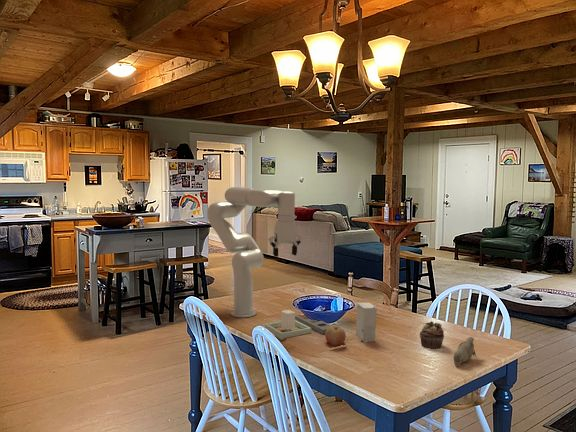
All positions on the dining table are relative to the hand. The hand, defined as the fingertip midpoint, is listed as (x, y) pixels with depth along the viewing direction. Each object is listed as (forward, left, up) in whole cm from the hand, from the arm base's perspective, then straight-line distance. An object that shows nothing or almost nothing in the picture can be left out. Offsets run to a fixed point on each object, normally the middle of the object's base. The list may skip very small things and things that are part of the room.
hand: (285, 255), depth 219 cm
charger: (+11, -4, -32) cm, 34 cm away
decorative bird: (+71, +37, -33) cm, 87 cm away
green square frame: (+11, -4, -33) cm, 34 cm away
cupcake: (+54, +39, -33) cm, 74 cm away
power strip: (+7, +10, -32) cm, 35 cm away
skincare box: (+34, +21, -33) cm, 51 cm away
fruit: (+34, +5, -33) cm, 47 cm away
